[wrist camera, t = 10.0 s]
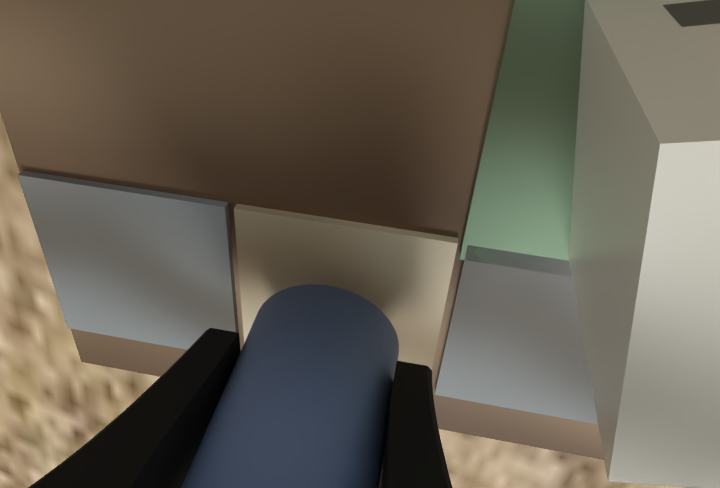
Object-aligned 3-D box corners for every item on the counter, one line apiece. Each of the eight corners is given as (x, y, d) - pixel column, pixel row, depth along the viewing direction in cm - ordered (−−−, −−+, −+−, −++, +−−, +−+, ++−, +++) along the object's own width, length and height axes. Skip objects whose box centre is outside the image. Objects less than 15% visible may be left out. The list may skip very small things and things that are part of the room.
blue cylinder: (391, 400, 14) (332, 796, 8) (257, 376, 14) (113, 743, 8) (407, 298, 12) (344, 725, 6) (251, 272, 12) (61, 662, 7)
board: (797, 470, 16) (813, 505, 15) (96, 341, 18) (77, 366, 17) (1219, 4, 9) (1295, 24, 8) (-41, -125, 11) (-85, -119, 10)
